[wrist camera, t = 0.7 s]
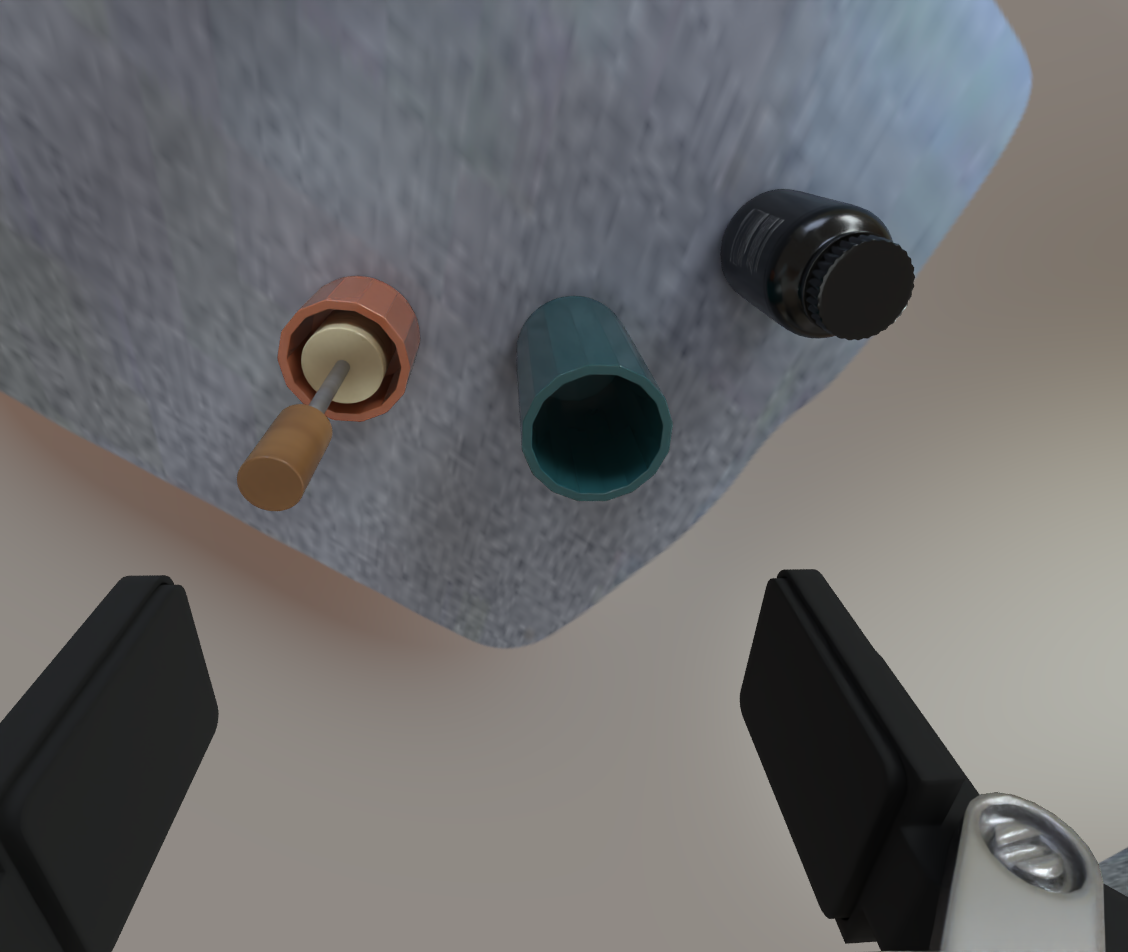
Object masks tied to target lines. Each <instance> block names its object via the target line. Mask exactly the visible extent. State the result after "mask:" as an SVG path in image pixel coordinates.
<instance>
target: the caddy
mask: <svg viewBox="0 0 1128 952" xmlns="http://www.w3.org/2000/svg"><path fill="white" fill-rule="evenodd" d="M334 309H335V310H347V311H356V312H358V313H359V314H361V315H363V316H365V317H367V318H369V319H371V320H372V321H374V322H376V323H378V324H379V325H380V326H381V327H382V328H383V330H384V331H385V332H386V333H387V335H388V336H389V337H390V338H391V340H392V341H393V342H394V343H395V345H396V350H395V353H394V355H393V357H392V360H391V362H390V364H389V366H388V369H387V371H386V373H385V376H384V378H383V380H382V382H381V385H380V387H379V388H378V390H377V391H376V392H375V393H374V394H373V395H372V396H370V397H369V398H367V399H365V400H363V401H360V402H357V403H339V402H335V401H332V402H331V403H330V405H329V407H328V408H327V410H326V412H325V414H324V415H325V416H326V417H328V418H330V419H334V420H342V421H358V422H361V421H365V420H368V419H371V418H373V417H376V416H379V415H381V414H384V413H386V412H388V411H389V410H390V409H391V407H392V406H393V405H394V404H395V403H396V402H397V401H398V400H399V399H400V398H401V397H402V396H403V394H404V393H405V390H406V387H407V384H408V381H409V378H410V375H411V372H412V369H413V366H414V363H415V360H416V356H417V352H418V348H419V344H420V331H419V325H418V321H417V318H416V315H415V313H414V311H413V309H412V308H411V306H410V304H409V303H408V302H407V300H406V299H405V298H404V297H403V296H402V295H401V294H400V293H399V292H398V291H396V290H395V289H394V288H392V287H391V286H389V285H388V284H386V283H384V282H382V281H379V280H377V279H374V278H369V277H363V276H349V277H343V278H340V279H337V280H335V281H332V282H330V283H329V284H327V285H324V286H323V287H321V288H320V289H319V290H318V291H317V292H316V293H315V294H314V295H313V296H312V297H311V298H310V299H309V300H308V301H307V302H306V303H305V304H304V305H303V306H302V307H301V308H300V309H299V310H298V311H297V313H296V314H295V315H294V316H293V317H292V319H291V320H290V321H289V322H288V324H287V325H286V326H285V327H284V329H283V330H282V332H281V337H280V343H279V350H278V357H277V358H278V362H279V365H280V368H281V371H282V374H283V377H284V379H285V382H286V385H287V387H288V388H289V389H290V390H291V391H292V392H293V393H294V394H295V395H296V396H297V397H298V398H299V399H300V401H301V402H302V403H303V404H304V405H309V404H310V402H311V400H312V399H313V397H314V396H315V394H316V393H317V392H316V391H315V390H314V389H313V388H312V387H311V385H310V384H309V383H308V381H307V379H306V378H305V376H304V373H303V370H302V365H301V356H302V351H303V348H304V346H305V344H306V342H307V341H308V340H309V339H310V337H311V336H312V335H313V334H314V333H315V331H316V330H317V329H318V328H319V327H320V325H321V324H322V323H323V322H324V321H325V319H326V318H327V317H328V316H329V315H330V313H331V312H332V311H333V310H334Z"/></svg>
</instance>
